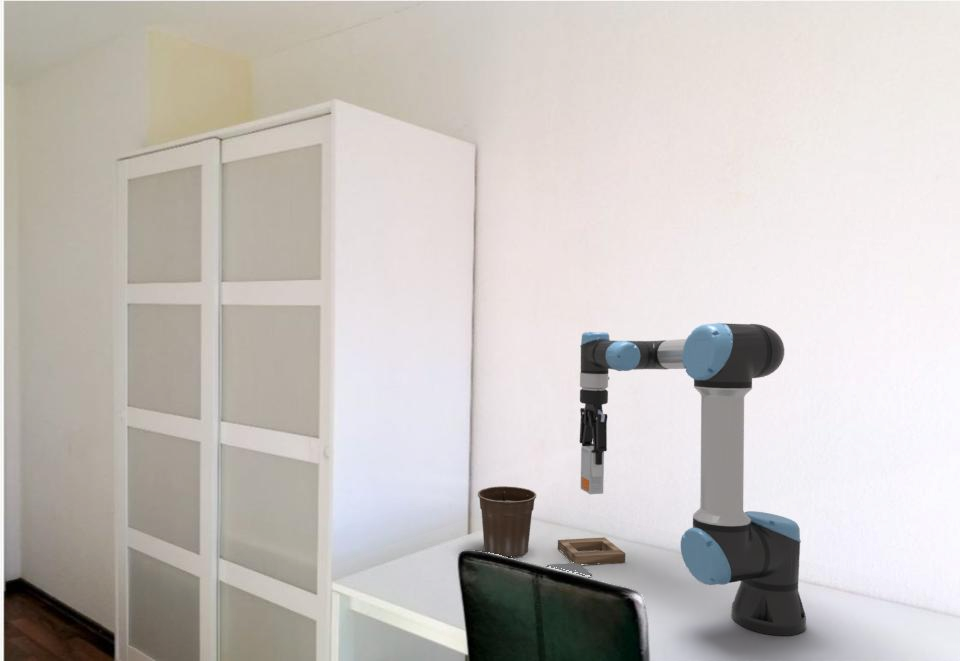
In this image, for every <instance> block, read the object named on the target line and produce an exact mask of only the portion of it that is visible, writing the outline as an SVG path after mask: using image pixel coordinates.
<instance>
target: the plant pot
mask: <svg viewBox="0 0 960 661" xmlns="http://www.w3.org/2000/svg"><path fill="white" fill-rule="evenodd" d="M537 496H538V495H537V493H536V492H535V491H533V490H531V489H528V488H525V487H517V486H505V485H504V486H503V485H502V486H501V485H500V486H491V487H487V488H482V489H480V490H479V491H478V492H477V497H478V498H479V508H480V510H481V520H482V521H481V523H482V533H483V536H482V537H483V549H484V552H485V553H486V552H490V553H494V554H499V555H502V556H506V558H507V557H511V556H512V557H511V558H513V559H514V558H517V557H518V556H520V557H522V555H523V556H524V555H525V556H526V554H527V553H528V552H529V542H530V535H531V534H530V533H531V524H532V514H533V511H534V509H535V508H534V506H535V499H537Z"/></svg>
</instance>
